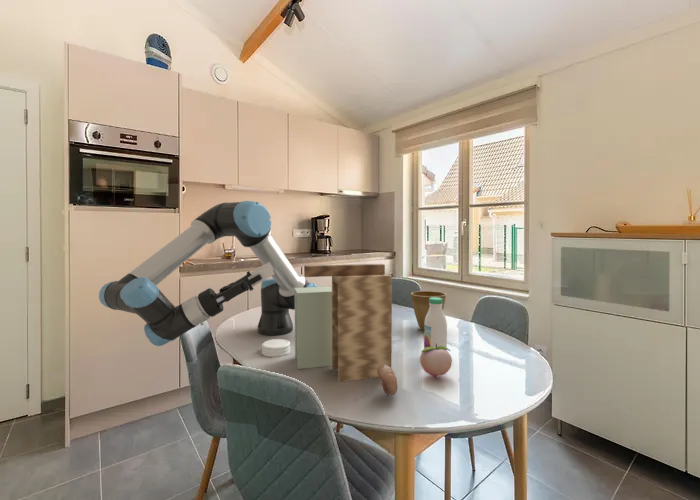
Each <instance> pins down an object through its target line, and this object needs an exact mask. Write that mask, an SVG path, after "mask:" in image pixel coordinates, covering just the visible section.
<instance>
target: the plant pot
mask: <svg viewBox="0 0 700 500" xmlns="http://www.w3.org/2000/svg"><path fill="white" fill-rule="evenodd" d="M410 296H411V301H412V302H411V303H412V307H413V312H414V315H415V318H416V322H417V324H418V327H419V329H420V331H422V332H424V322H425V317H426V315H427V313H428V311H429V307H430V305H429V298H432V297H438V298H442V299H443V303H442V304H443V305H442V310H443V311H444V308H445V305H446V304H445V303H446V298H447V297H446V296H447V293H445V292H441V291H433V290H431V291H430V290H421V291H420V290H419V291H413V292H411V293H410Z"/></svg>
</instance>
